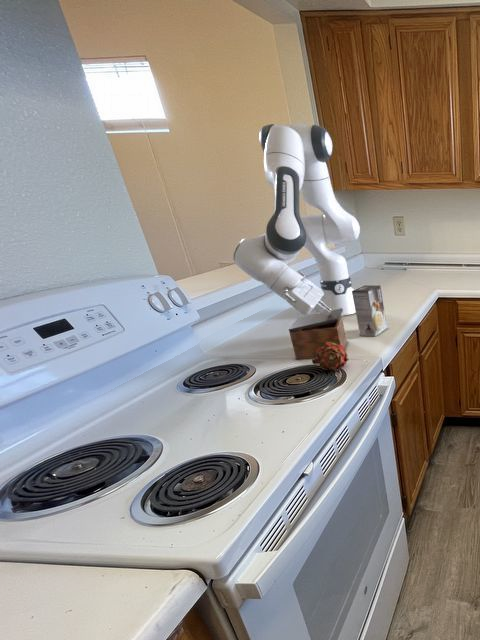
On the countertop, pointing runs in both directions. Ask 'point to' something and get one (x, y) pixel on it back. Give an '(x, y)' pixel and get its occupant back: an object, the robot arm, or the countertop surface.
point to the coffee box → (369, 310)
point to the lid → (316, 320)
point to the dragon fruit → (331, 357)
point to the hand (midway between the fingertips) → (329, 313)
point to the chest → (317, 338)
